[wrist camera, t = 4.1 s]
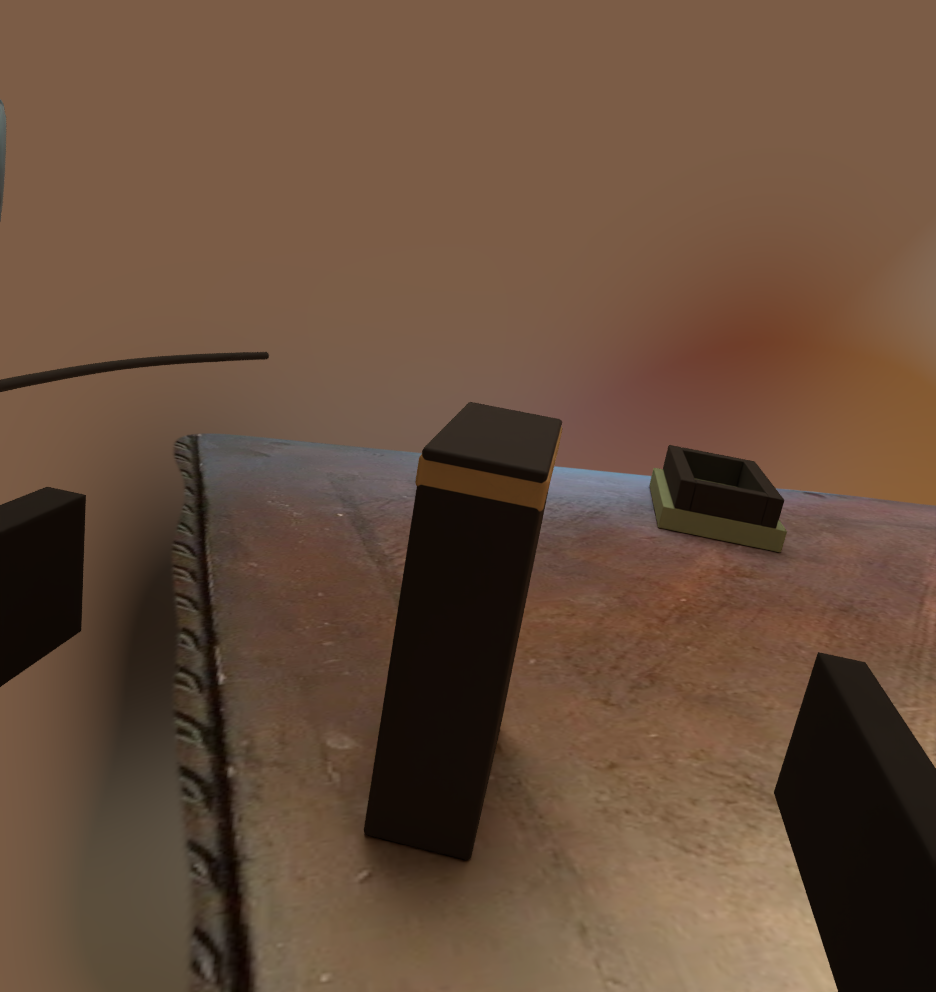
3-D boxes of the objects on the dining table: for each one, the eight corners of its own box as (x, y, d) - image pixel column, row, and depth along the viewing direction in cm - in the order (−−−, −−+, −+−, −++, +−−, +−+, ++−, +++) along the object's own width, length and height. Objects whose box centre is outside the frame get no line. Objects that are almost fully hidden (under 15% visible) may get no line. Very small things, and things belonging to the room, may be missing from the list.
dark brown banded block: (472, 862, 22) (550, 472, 19) (360, 834, 23) (419, 446, 20) (502, 726, 29) (563, 419, 26) (415, 705, 29) (467, 400, 26)
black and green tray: (780, 552, 54) (795, 502, 53) (657, 527, 55) (670, 477, 54) (752, 506, 65) (764, 463, 64) (649, 485, 66) (659, 442, 65)
